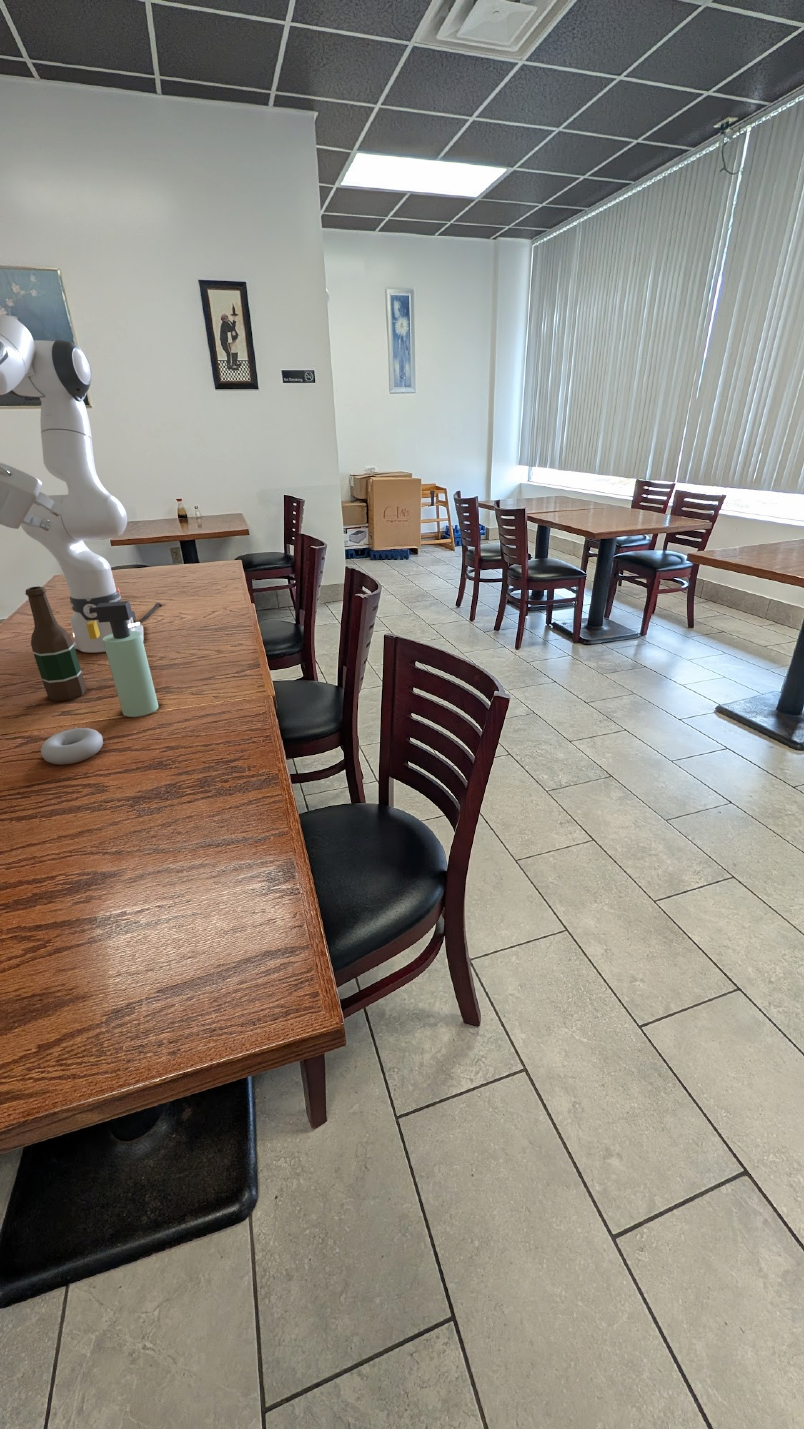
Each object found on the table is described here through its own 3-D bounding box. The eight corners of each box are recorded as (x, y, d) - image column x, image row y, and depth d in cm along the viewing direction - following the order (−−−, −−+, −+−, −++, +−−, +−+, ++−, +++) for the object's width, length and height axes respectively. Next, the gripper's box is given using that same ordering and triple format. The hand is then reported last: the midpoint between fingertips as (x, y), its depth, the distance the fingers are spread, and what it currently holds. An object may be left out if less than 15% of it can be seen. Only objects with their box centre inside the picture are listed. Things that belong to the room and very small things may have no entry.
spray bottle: (121, 705, 124) (93, 601, 115) (161, 701, 126) (136, 597, 116) (113, 719, 118) (83, 610, 108) (155, 714, 120) (128, 607, 110)
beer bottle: (71, 702, 127) (36, 593, 116) (40, 700, 128) (3, 592, 118) (94, 688, 133) (64, 583, 123) (65, 686, 135) (32, 583, 124)
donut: (74, 772, 100) (117, 744, 108) (68, 755, 98) (112, 727, 107) (31, 764, 103) (75, 737, 112) (24, 747, 102) (70, 721, 110)
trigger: (93, 635, 115) (89, 620, 114) (100, 635, 115) (96, 620, 114) (90, 639, 113) (86, 624, 112) (97, 638, 113) (92, 623, 112)
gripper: (-12, 443, 101) (74, 487, 109) (-26, 486, 116) (50, 522, 124) (-26, 474, 99) (63, 516, 108) (-39, 513, 114) (39, 548, 123)
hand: (56, 520), depth 116 cm, fingers open, 8 cm apart
